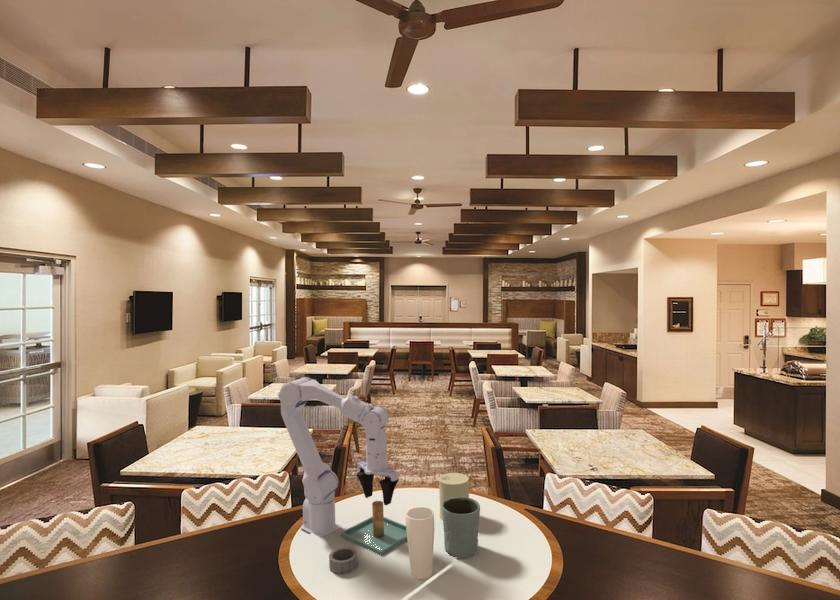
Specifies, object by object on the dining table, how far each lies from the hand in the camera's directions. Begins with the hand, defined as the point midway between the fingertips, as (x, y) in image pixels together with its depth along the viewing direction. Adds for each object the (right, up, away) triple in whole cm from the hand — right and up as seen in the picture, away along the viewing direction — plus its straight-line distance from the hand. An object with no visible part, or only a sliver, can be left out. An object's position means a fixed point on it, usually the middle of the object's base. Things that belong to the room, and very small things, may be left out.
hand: (378, 500), depth 136 cm
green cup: (+23, -10, -8) cm, 26 cm away
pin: (0, -10, 0) cm, 10 cm away
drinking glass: (+12, -11, -18) cm, 24 cm away
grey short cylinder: (-7, -11, -14) cm, 20 cm away
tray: (0, -10, 0) cm, 10 cm away
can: (+22, -10, +12) cm, 27 cm away
